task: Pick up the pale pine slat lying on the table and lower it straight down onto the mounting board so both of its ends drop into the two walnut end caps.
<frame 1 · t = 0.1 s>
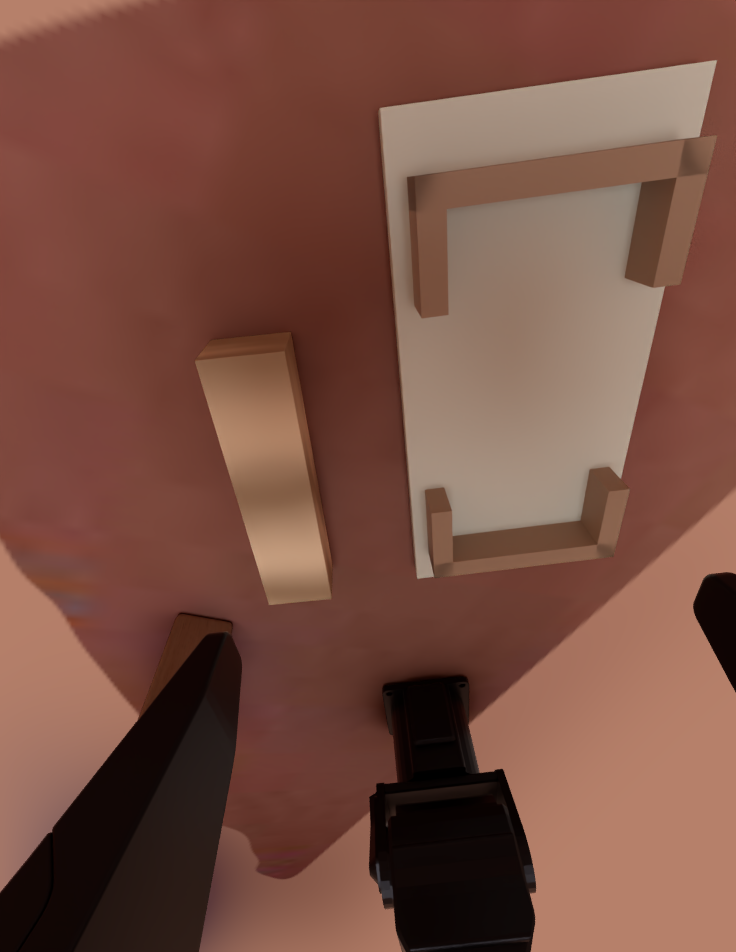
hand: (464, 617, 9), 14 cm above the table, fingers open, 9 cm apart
wooden block: (195, 662, 32), on the table
slat: (282, 467, 24), on the table
slat board: (516, 387, 22), on the table
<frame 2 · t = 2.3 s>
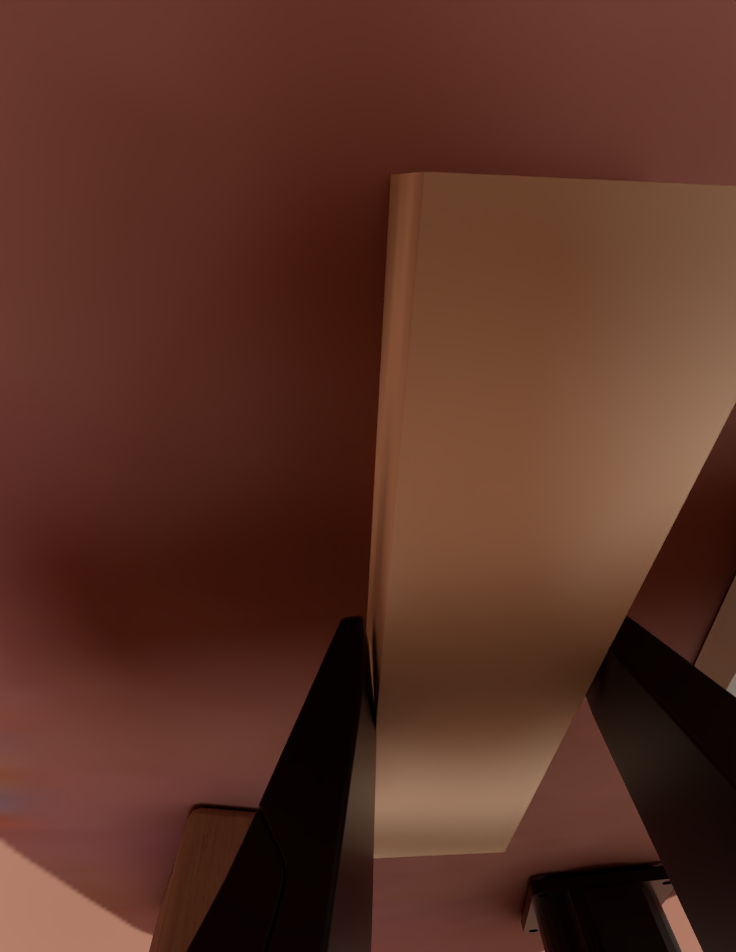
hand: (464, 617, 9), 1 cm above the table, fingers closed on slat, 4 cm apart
wooden block: (220, 859, 18), on the table
slat: (449, 561, 10), on the table, touching gripper
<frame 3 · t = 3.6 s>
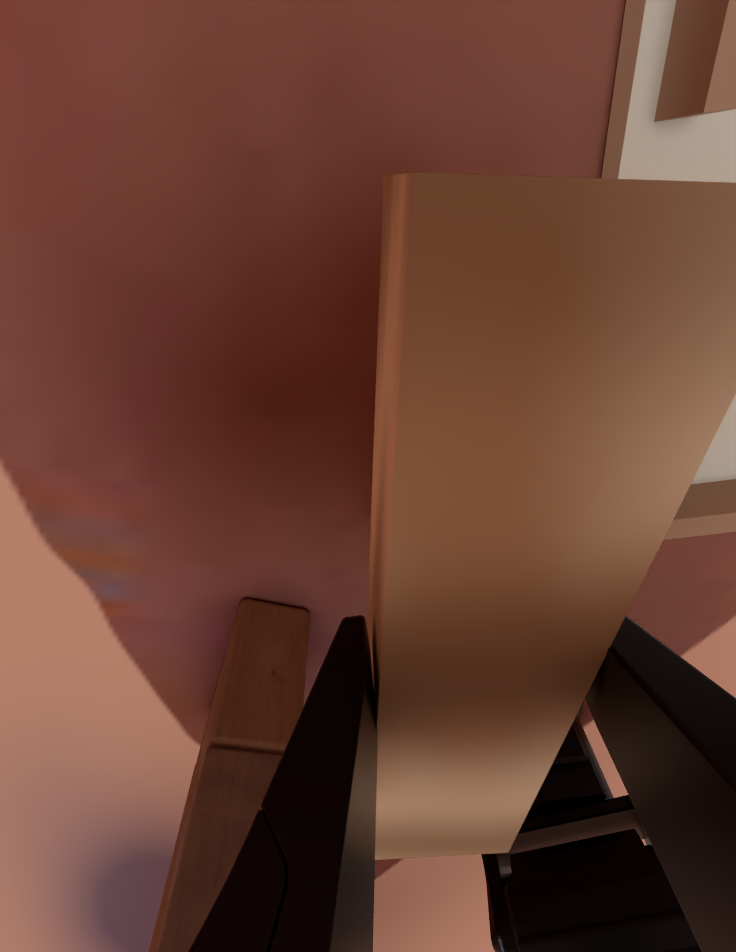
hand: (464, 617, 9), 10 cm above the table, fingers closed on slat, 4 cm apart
wooden block: (255, 660, 26), on the table
slat: (449, 561, 10), point 9 cm above the table, touching gripper
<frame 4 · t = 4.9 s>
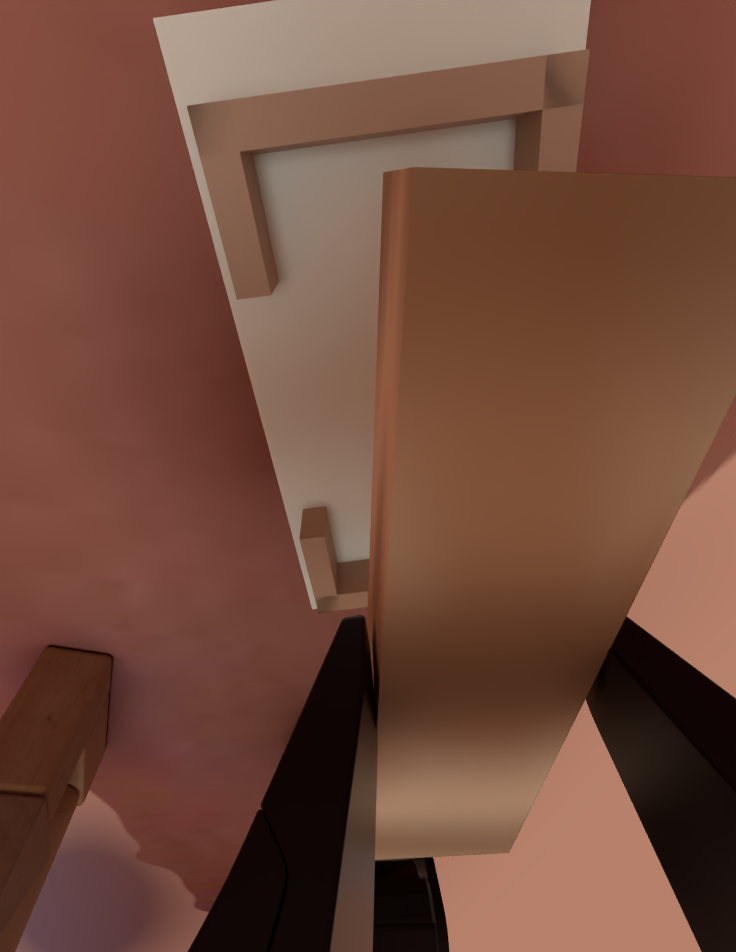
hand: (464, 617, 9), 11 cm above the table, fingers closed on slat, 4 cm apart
wooden block: (80, 697, 29), on the table
slat: (449, 561, 10), point 10 cm above the table, touching gripper
slat board: (400, 387, 18), on the table
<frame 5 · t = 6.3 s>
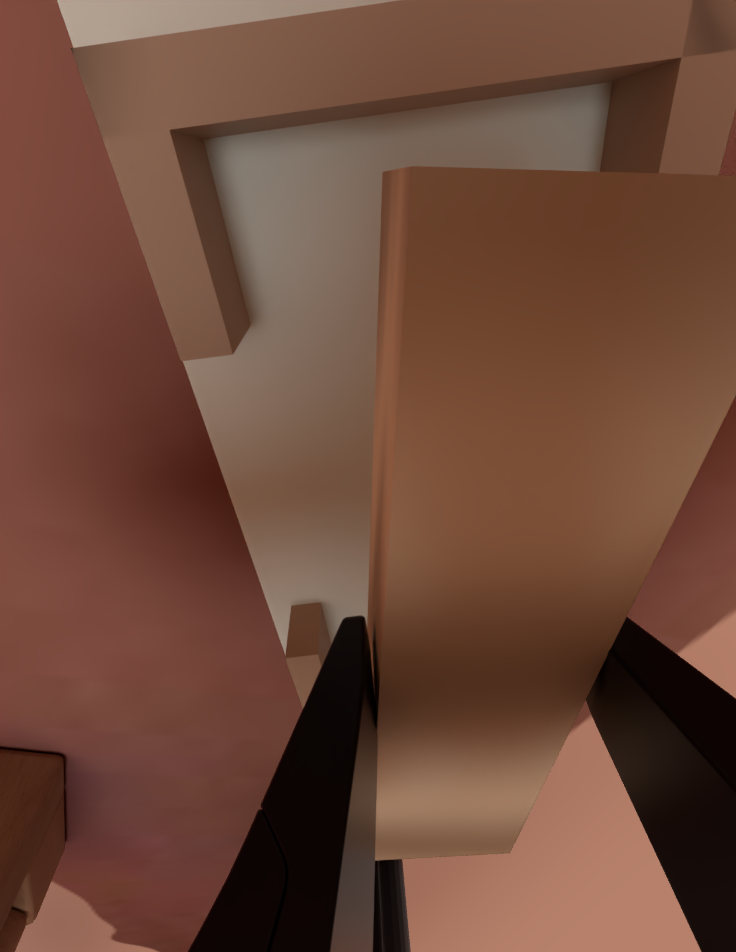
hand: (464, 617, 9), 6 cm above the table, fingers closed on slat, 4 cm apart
wooden block: (32, 794, 24), on the table
slat: (449, 561, 10), point 4 cm above the table, touching gripper
slat board: (420, 456, 14), on the table
when the fingers open (3 cm above the table, at t = 7.7 s): slat stays where it is, resting on slat board.
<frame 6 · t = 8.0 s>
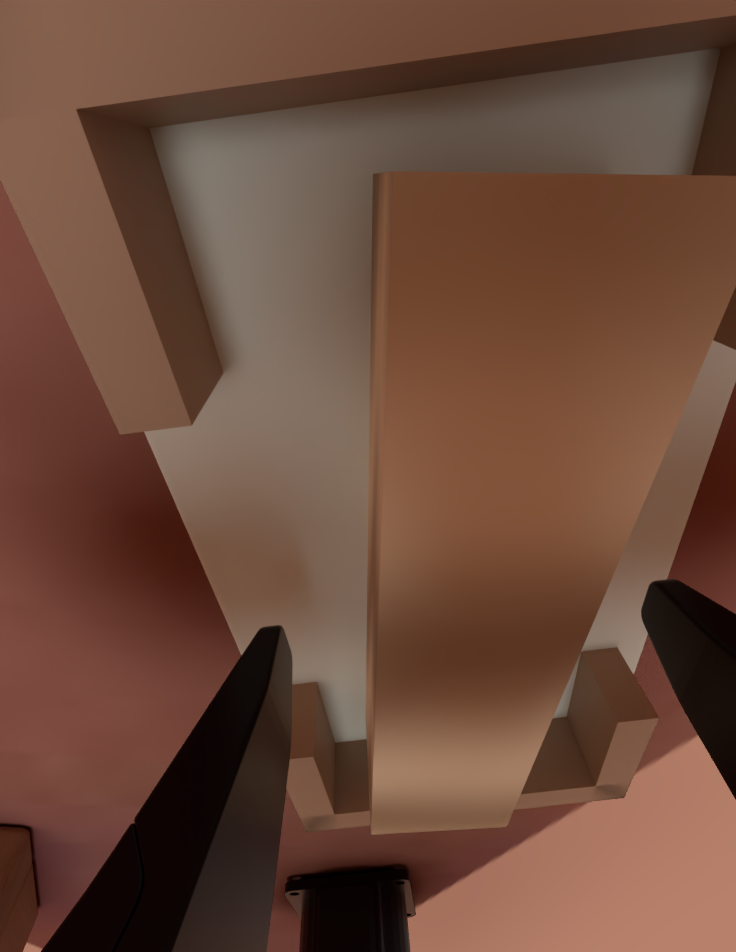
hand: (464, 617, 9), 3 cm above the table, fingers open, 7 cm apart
slat: (444, 545, 10), point 1 cm above the table, touching slat board
slat board: (437, 517, 11), on the table
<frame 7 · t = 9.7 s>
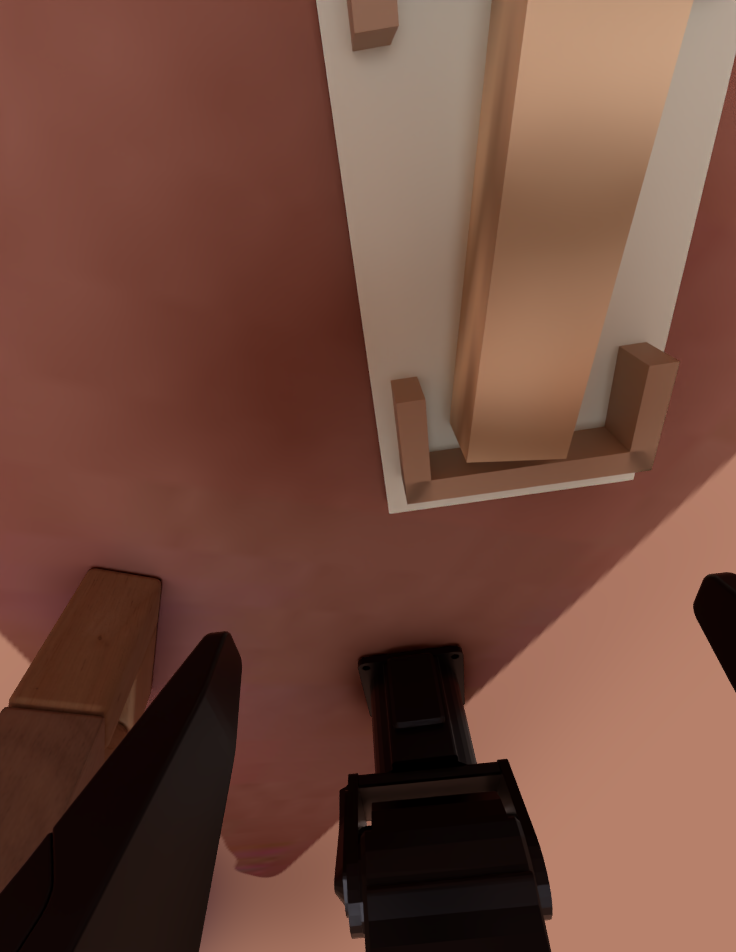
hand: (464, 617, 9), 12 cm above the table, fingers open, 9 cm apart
wooden block: (125, 631, 26), on the table
slat: (524, 221, 14), point 1 cm above the table, touching slat board
slat board: (514, 218, 15), on the table
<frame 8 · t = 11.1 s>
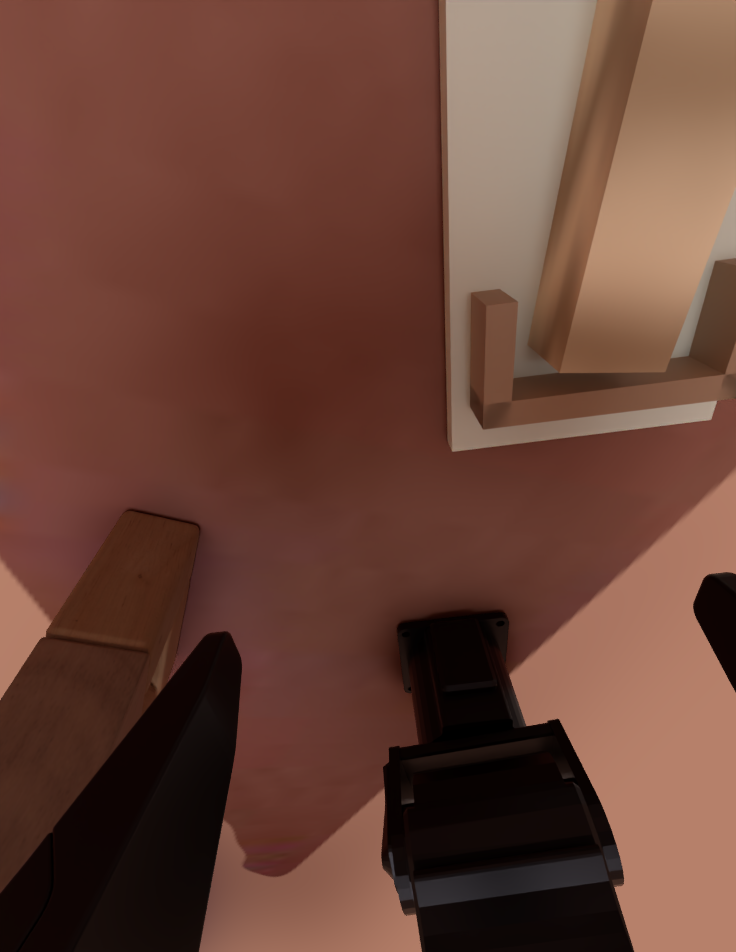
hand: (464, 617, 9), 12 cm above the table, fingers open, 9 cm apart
wooden block: (154, 587, 25), on the table
slat: (634, 107, 13), point 1 cm above the table, touching slat board
slat board: (616, 111, 14), on the table
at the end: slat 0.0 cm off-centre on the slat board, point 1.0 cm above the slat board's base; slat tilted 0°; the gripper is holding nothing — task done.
